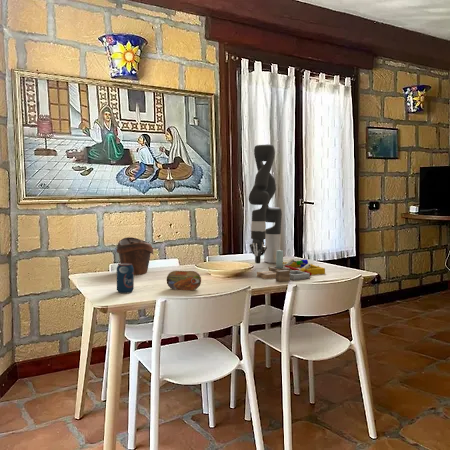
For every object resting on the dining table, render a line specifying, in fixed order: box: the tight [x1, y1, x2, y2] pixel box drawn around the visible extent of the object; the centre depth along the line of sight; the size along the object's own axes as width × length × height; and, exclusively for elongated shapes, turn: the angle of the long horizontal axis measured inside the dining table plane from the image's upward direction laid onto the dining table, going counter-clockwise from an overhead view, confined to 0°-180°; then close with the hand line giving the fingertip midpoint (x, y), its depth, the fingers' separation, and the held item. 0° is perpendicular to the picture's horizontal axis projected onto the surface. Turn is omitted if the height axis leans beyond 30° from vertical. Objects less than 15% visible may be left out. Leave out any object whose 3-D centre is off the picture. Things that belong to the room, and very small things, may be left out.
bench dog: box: [275, 270, 291, 283], centre depth 219 cm, size 3×6×5 cm, turn 121°
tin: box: [166, 270, 202, 292], centre depth 198 cm, size 15×3×8 cm, turn 81°
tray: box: [290, 270, 311, 281], centre depth 228 cm, size 10×10×2 cm
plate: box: [256, 270, 276, 280], centre depth 229 cm, size 8×8×2 cm
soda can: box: [116, 262, 135, 294], centre depth 191 cm, size 7×7×12 cm
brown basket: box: [116, 236, 154, 276], centre depth 236 cm, size 18×20×18 cm
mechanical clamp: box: [283, 258, 326, 276], centre depth 248 cm, size 18×6×30 cm
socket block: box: [268, 266, 291, 272], centre depth 239 cm, size 8×8×3 cm
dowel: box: [275, 249, 284, 269], centre depth 239 cm, size 4×4×12 cm
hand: (257, 263), depth 236 cm, fingers closed
